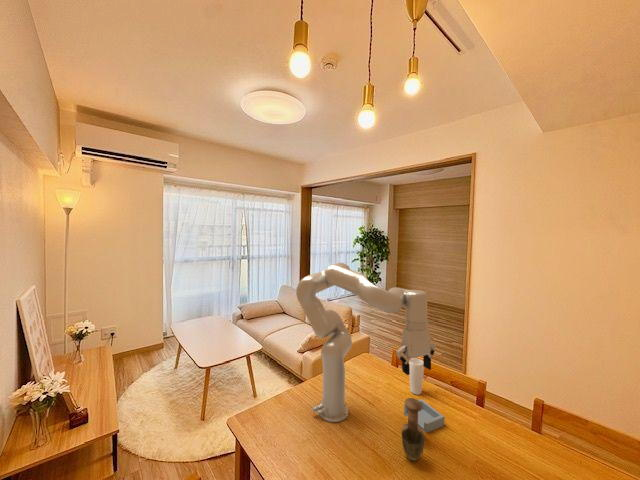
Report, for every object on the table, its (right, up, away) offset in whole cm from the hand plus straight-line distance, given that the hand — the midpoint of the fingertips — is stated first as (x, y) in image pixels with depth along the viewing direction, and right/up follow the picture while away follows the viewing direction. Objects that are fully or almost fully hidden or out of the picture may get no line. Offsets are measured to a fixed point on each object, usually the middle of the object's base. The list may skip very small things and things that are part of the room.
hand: (416, 370), depth 95 cm
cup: (-4, -27, -7) cm, 28 cm away
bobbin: (0, -26, +4) cm, 26 cm away
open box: (+7, -26, +12) cm, 29 cm away
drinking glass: (+11, -26, +30) cm, 41 cm away
